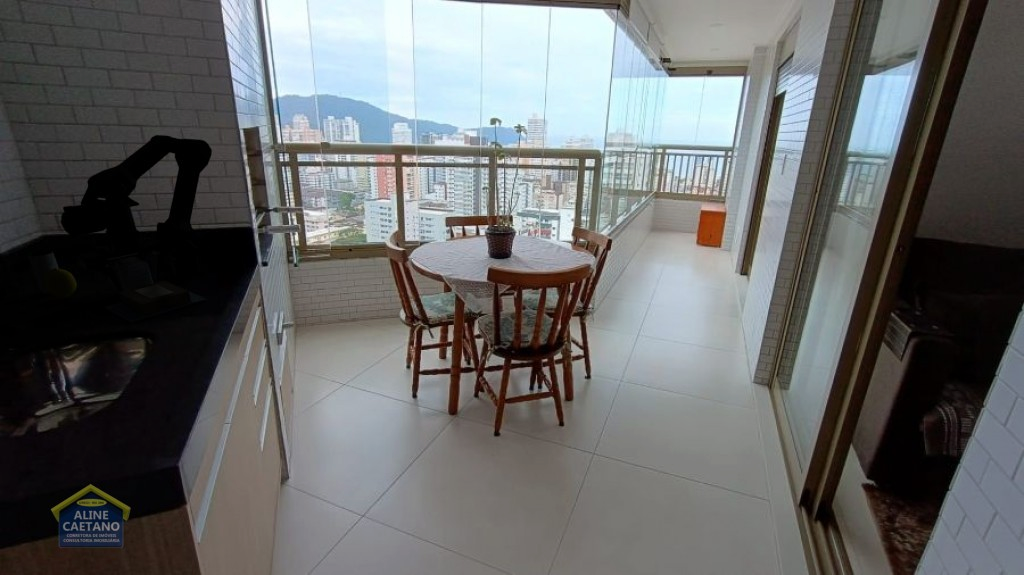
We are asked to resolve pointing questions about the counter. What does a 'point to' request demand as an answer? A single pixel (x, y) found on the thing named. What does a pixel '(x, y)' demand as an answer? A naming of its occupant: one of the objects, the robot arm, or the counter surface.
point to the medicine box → (133, 273)
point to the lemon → (60, 283)
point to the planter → (42, 266)
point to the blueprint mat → (135, 316)
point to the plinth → (154, 297)
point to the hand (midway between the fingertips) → (138, 284)
